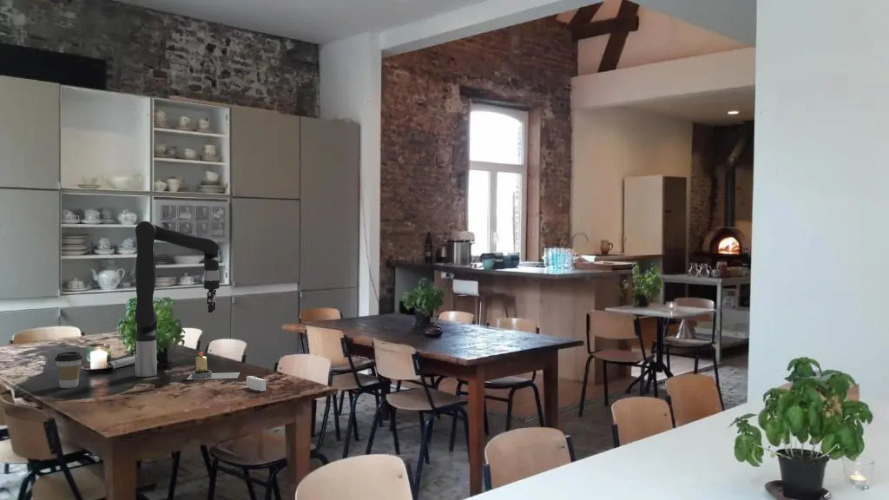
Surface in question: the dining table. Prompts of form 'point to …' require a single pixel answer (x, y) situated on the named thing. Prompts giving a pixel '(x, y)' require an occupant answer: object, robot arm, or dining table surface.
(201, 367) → the brass valve
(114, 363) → the grey long cylinder
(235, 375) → the manifold plate
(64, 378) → the coffee cup
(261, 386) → the napkin holder
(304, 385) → the dining table surface
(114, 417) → the dining table surface
